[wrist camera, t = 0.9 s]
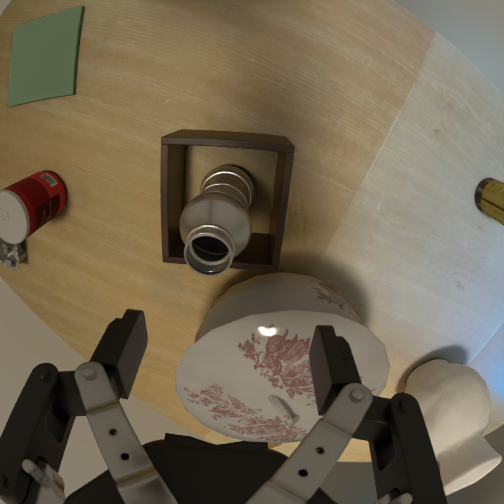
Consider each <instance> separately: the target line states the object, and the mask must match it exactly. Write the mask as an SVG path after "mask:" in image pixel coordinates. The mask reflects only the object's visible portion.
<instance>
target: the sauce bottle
mask: <svg viewBox="0 0 504 504" xmlns="http://www.w3.org/2000/svg"><path fill="white" fill-rule="evenodd" d="M475 199H476V204H477V206H478V208H479V209H480V210H481V211H483V212H484V213H485V214H486V215H488V216H489V217H491V218H493V219H494V220H496V221H497V222H499V223H501V224H502V225H504V183H503V182H500V181H498V180H494V179H492V178H488V179H485V180H483V181H482V182H480V184H479V185H478V188H477V191H476V194H475Z"/></svg>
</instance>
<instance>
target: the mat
mask: <svg viewBox="0 0 504 504" xmlns="http://www.w3.org/2000/svg"><path fill="white" fill-rule="evenodd" d="M83 13H84V6H79V7H75V8H71V9H68V10H64V11H61V12H58V13H54V14H51V15H48V16H45V17H42V18H39V19H36V20H33V21H31V22H28V23H25V24H23V25H20V26H18V27H15V28H14V33H13V40H12V47H11V56H10V66H9V80H8V107H11V106H15V105H19V104H24V103H28V102H33V101H38V100H43V99H49V98H55V97H61V96H67V95H74V94H75V92H76V74H77V61H78V51H79V41H80V33H81V26H82V19H83Z"/></svg>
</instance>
